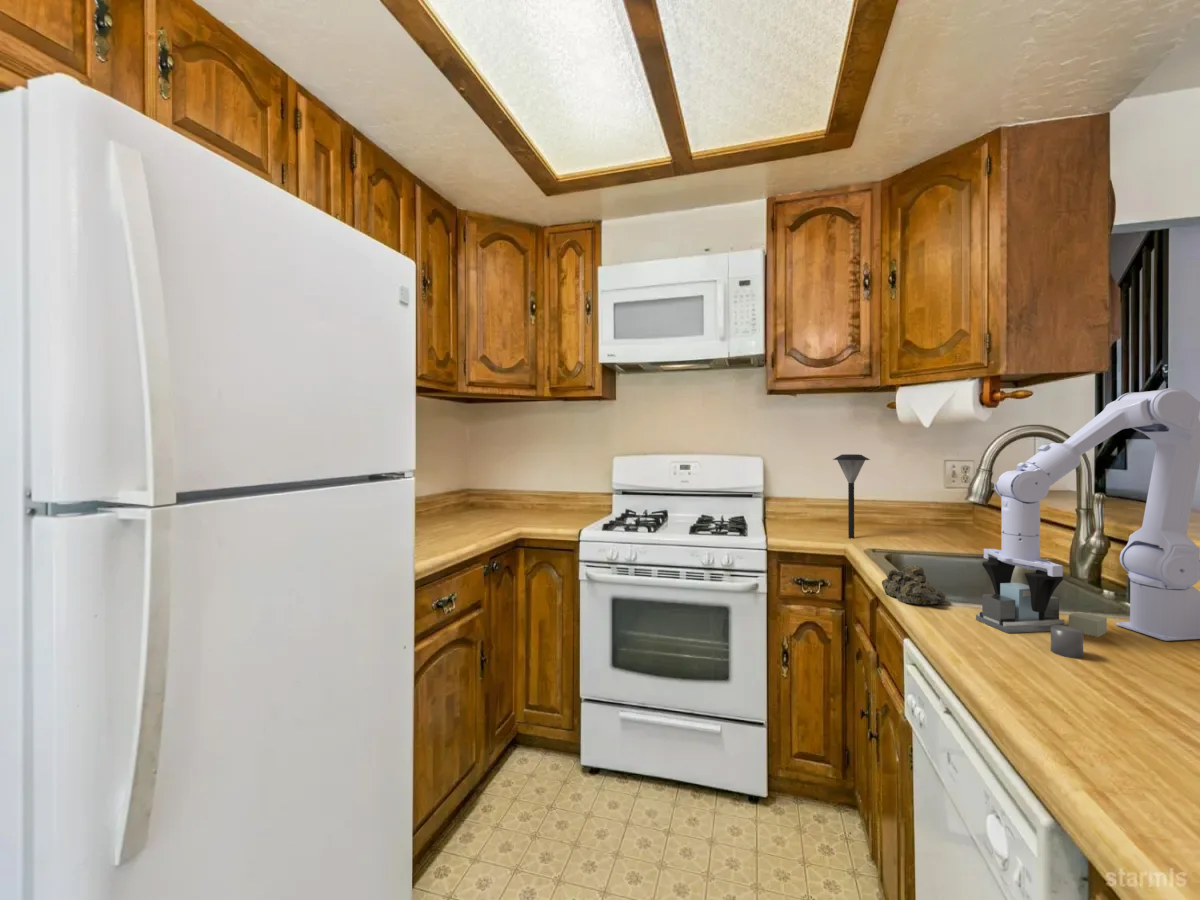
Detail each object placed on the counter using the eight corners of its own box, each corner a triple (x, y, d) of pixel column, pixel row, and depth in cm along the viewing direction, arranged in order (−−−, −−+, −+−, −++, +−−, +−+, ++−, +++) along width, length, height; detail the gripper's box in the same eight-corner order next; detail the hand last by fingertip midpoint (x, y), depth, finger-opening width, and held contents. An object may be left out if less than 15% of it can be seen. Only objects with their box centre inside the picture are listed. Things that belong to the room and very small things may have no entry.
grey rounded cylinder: (1065, 647, 87) (1065, 624, 87) (1090, 657, 83) (1090, 633, 83) (1044, 649, 87) (1044, 625, 86) (1067, 659, 83) (1068, 634, 83)
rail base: (1031, 617, 102) (1031, 589, 102) (1067, 630, 95) (1067, 600, 95) (975, 619, 101) (975, 592, 100) (1007, 633, 94) (1007, 603, 93)
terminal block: (1078, 627, 97) (1078, 611, 97) (1106, 634, 93) (1106, 617, 93) (1068, 631, 95) (1068, 614, 95) (1097, 638, 91) (1097, 621, 91)
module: (1018, 613, 100) (1019, 582, 100) (1038, 620, 96) (1038, 588, 96) (1000, 614, 99) (1000, 583, 99) (1019, 621, 95) (1019, 589, 95)
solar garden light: (831, 534, 191) (831, 454, 191) (867, 535, 187) (867, 454, 186) (834, 540, 180) (833, 455, 179) (873, 542, 176) (873, 455, 175)
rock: (903, 588, 124) (869, 571, 122) (936, 562, 118) (900, 545, 117) (924, 633, 113) (887, 615, 111) (961, 607, 107) (922, 589, 106)
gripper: (969, 527, 104) (969, 593, 104) (1037, 541, 90) (1036, 618, 90) (1001, 526, 105) (1001, 592, 105) (1073, 540, 90) (1073, 616, 91)
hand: (1020, 604), depth 98 cm, fingers open, 7 cm apart
